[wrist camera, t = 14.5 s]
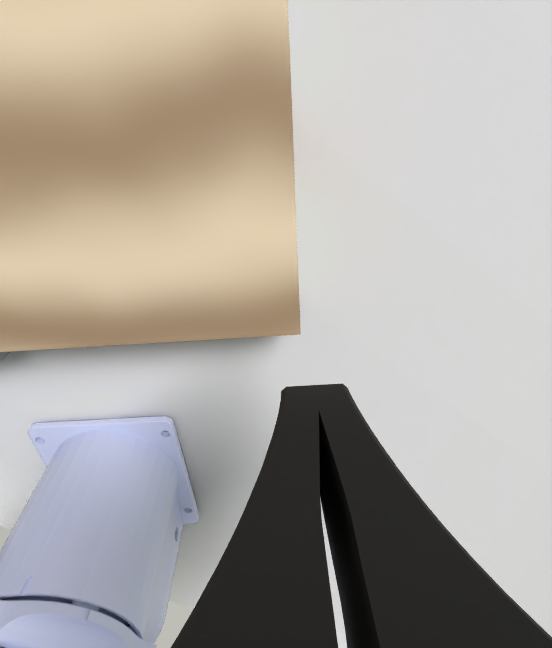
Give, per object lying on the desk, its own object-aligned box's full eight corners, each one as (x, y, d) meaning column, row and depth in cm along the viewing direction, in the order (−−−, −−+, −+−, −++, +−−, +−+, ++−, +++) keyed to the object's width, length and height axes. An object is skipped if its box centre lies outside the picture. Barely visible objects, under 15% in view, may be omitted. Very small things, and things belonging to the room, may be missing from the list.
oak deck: (295, 291, 19) (300, 334, 16) (35, 307, 19) (-9, 352, 16) (276, -165, 11) (277, -246, 8) (-153, -127, 12) (-300, -192, 9)
